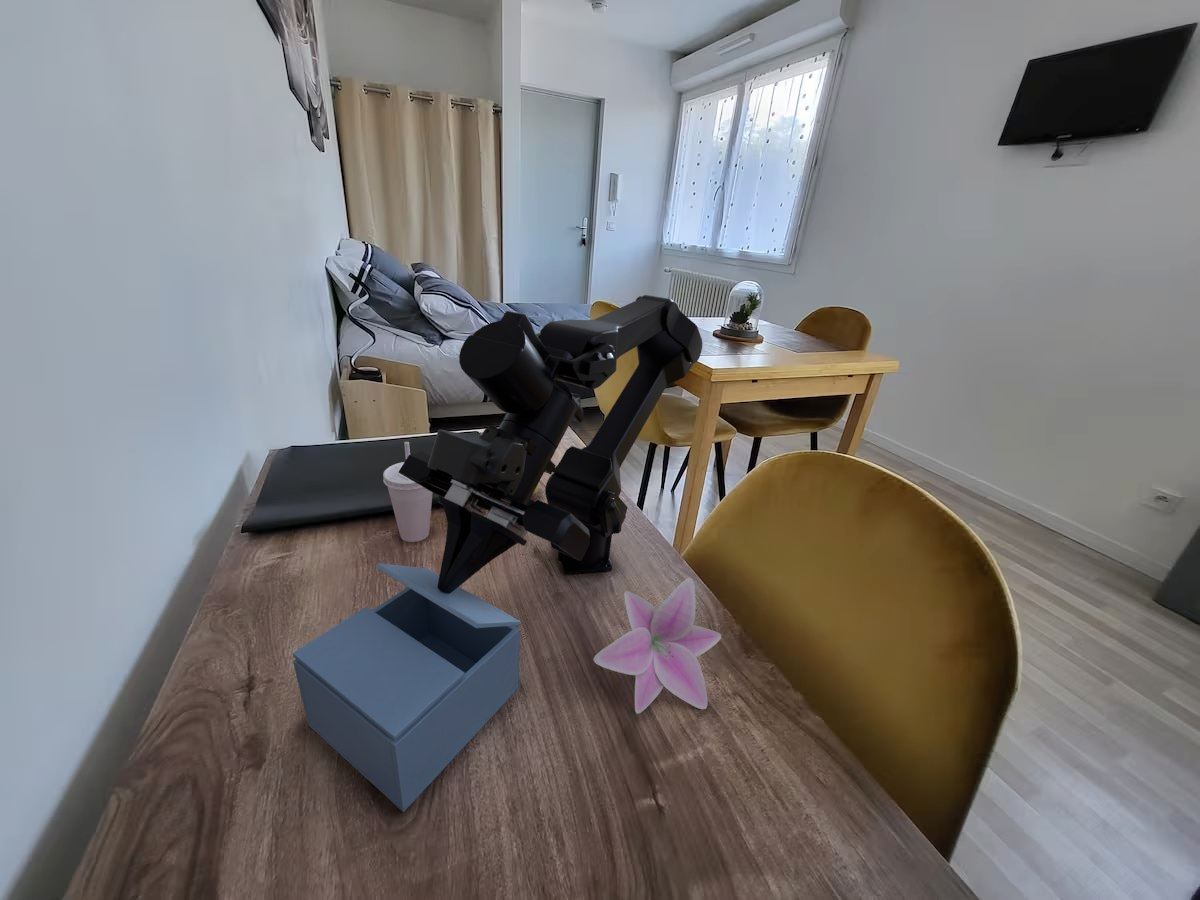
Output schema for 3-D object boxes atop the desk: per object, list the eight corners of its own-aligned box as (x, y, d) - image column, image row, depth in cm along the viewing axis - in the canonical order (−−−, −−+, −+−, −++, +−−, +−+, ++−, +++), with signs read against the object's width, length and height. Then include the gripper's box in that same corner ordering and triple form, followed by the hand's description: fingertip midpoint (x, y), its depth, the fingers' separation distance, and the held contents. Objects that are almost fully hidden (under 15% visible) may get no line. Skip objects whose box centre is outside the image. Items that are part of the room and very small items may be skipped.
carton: (430, 631, 51) (425, 568, 48) (518, 688, 46) (520, 621, 42) (307, 725, 41) (290, 653, 37) (403, 812, 36) (393, 738, 32)
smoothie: (387, 550, 63) (375, 452, 57) (392, 523, 68) (382, 431, 62) (439, 545, 64) (433, 450, 59) (439, 519, 70) (434, 430, 64)
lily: (569, 695, 47) (598, 672, 40) (605, 587, 55) (634, 551, 47) (681, 744, 47) (730, 730, 40) (701, 630, 55) (745, 601, 48)
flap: (425, 571, 48) (426, 568, 48) (518, 625, 43) (520, 621, 43) (375, 567, 42) (377, 562, 42) (475, 628, 37) (478, 623, 37)
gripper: (408, 367, 43) (303, 525, 39) (582, 422, 35) (474, 630, 31) (473, 426, 53) (394, 558, 48) (622, 479, 44) (544, 644, 40)
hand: (443, 591), depth 42 cm, fingers closed
